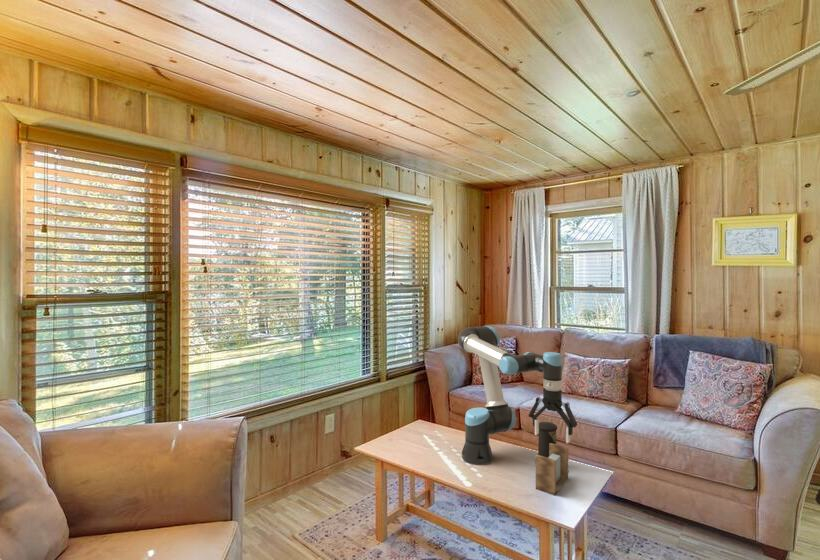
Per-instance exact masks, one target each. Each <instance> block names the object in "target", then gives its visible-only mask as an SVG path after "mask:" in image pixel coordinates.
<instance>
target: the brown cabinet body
mask: <svg viewBox="0 0 820 560" xmlns="http://www.w3.org/2000/svg"><path fill="white" fill-rule="evenodd" d="M556 444H557V443H556ZM556 444H552V443H550V444H549V456H550V455H551V454H556V455H559V456H560V480H559V481H558V482H557V483H556V460H554V459H551V458H547V457H544V456H540V455H538V454H536V455H535V490H538V491H541V492H543V493H546V494H549V495H552V496H555V495H556V494H558V492H559V491H560V490H561V489H562V488H563V487H564V485H565V484H566V483H567V481H569V447H568V446H564V445H563V446H562V445H560V444H557V445H556Z"/></svg>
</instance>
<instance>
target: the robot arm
mask: <svg viewBox="0 0 820 560" xmlns="http://www.w3.org/2000/svg"><path fill="white" fill-rule="evenodd" d="M500 341H501V340H500V335H499V333H498V331H497V329H496V328H495V327H493V326H490V325H480V326H468V327H464V328H463V329H461V331H460V332H459V334H458V336H457V343H458V345H459V347H460V348H461V349H462V350H463V351H465V352H467V353H471V354H472V353H473V354H475V355H477V356H478V359H479V360H478V361H479V364H480V371H481V375H482V376H481V377H482V380H483V381H482V382H483V386H484V392H485V397H486V398H485V399H486V404H485V405H484V407H472V408H470V409H468V410H467V411H466V412H465V417H464V424H465V425H464V426H465V427H464V431H465V432H464V433H465V435H464V437H465V440H464V444H463V447H462V450H461V458H462V460H463V461H464V462H465V463H468V464H471V465H481V466H482V465H487V464H490V463H492V462H493V460H494V454H493V450H492V447H491V444H490V436H492V435H495V434H501V433H506V432H508V431H511V430H512V429H513V428H514V427H515V424H516V413H515V411H514V409H513V408H512V407H511V406H509V403H508V402H507V401H505V399H504V392H503V388H502V384H501V377H500V373H499V370H500V371H501V373H502V374H504V375H515V374H521V373H527V372H529V373H530V372H540V373H542V375H543V376H542V379H543V382H542V385H543V386H542V387H543V390H542V397H541V396H537V397H536V398H535V402H534V404H533V406H532V408H531V409H530V412H529V413H528V417H529V418H531V419H532V426H533V427H534V435H535V436H538V435H539V423H540V420H539V416H540V415H541V414H542V413H544V411H546V410H547V411H548V412H549V411H552V412H556V413H557V414H558V415H559V416H560V418H561V419H562V420H563V421H564V423H565V424H566V428H565V429H566V430H565V432H566V433H565V437H566V438H565V444H569V443H571V436H572V435H573V428H576V427H577V426H578V422H577V420H576V419H575V416H574V413H573V411H572V410H571V407H570V402H563V400H562V398H563V396H562V395H563V393H562V392H563V391H562V388H563V384H562V383H563V382H562V380H563V379H562V377H563V375H562V374H563V373H562V370H563V369H562V368H563V359H562V354H561V353H559V352H554V351H545V352H543V354H539V353H536V352H534V351H533V352H531V351H530V352H529V351H527V352H524V353H523V354H520V355H519V354H518V355H515V354H512V353H509V352H507V351H505V350H503V349H502V348H499V347H498V346H499V344H500V343H499V342H500ZM498 368H499V369H498ZM541 403H542V404H543V406H542V407H541V408H540V409H539V410H538V411H537V408H538V407H539V405H540V404H541ZM562 406H563V408H564V409H563V408H562ZM564 410H565V412H566V413H565V412H564ZM536 411H537V412H536ZM535 412H536V413H535Z"/></svg>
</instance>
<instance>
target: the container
mask: <svg viewBox="0 0 820 560" xmlns="http://www.w3.org/2000/svg"><path fill="white" fill-rule="evenodd" d="M557 429H558V426H557V424H556V423H554V422H550V421H541V422H540V421H539V433H538V446H537V447H538V449H537V450H538V451H537V455H540V456H544V457H547V458H548V457H549V444H550V443H552V444H556V445H558V444H557Z"/></svg>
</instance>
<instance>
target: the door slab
mask: <svg viewBox="0 0 820 560" xmlns="http://www.w3.org/2000/svg"><path fill="white" fill-rule="evenodd" d="M548 458H551V459H554V460H556V483H557V482H558V481H559V480H560V456H559V455H556V454H551V455H550V456H549V457H548Z"/></svg>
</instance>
